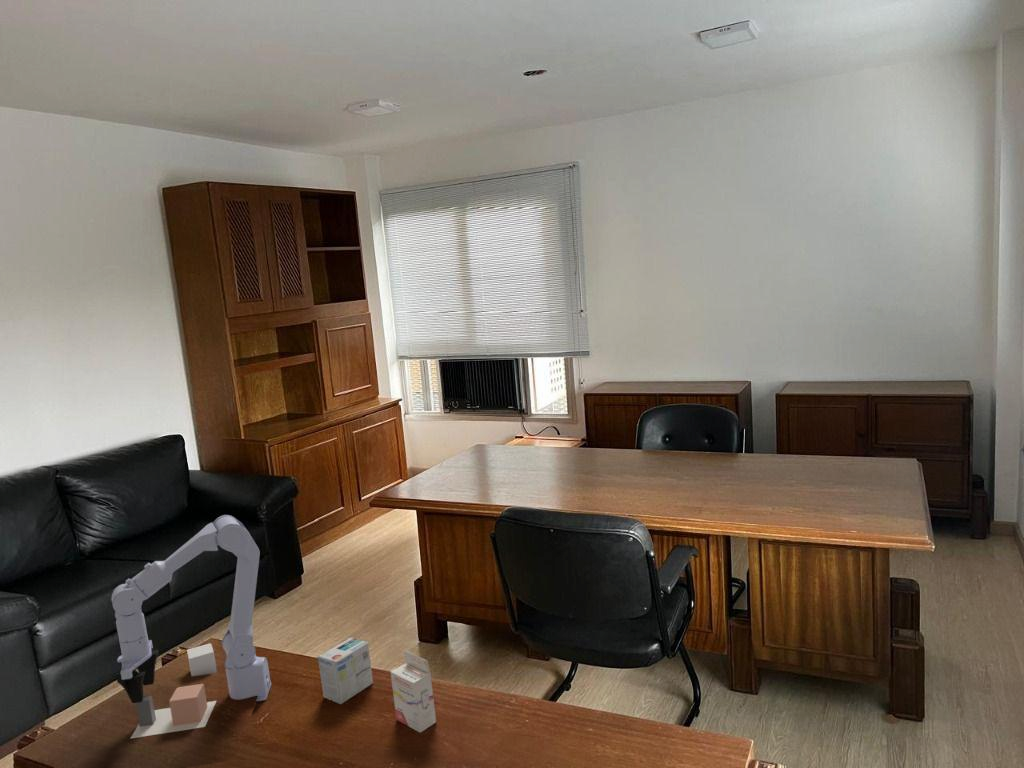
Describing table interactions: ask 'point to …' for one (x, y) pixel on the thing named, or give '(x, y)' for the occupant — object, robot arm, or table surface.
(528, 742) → the table surface
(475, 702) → the table surface
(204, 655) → the white block
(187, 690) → the block
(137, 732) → the white flat board
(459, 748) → the table surface
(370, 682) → the light bulb box
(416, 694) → the ink cartridge box
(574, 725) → the table surface
